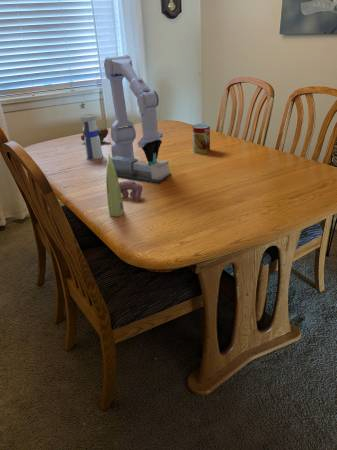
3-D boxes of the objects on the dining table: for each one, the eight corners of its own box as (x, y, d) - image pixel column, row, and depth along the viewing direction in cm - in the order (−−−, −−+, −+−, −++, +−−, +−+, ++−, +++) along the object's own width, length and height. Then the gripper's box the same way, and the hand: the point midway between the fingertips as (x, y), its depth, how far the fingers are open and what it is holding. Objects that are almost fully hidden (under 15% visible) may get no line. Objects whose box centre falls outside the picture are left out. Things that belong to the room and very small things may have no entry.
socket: (151, 178, 148) (150, 165, 145) (160, 173, 153) (159, 160, 150) (160, 180, 146) (159, 166, 143) (169, 174, 151) (168, 161, 148)
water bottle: (81, 159, 177) (72, 104, 165) (91, 153, 184) (83, 100, 172) (96, 160, 174) (88, 104, 163) (106, 154, 181) (99, 101, 169)
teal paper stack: (127, 168, 154) (125, 150, 151) (131, 166, 156) (129, 148, 153) (160, 173, 147) (158, 155, 143) (163, 171, 149) (162, 153, 145)
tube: (104, 214, 125) (96, 157, 115) (116, 208, 128) (108, 152, 119) (116, 218, 121) (108, 160, 112) (127, 212, 125) (121, 155, 115)
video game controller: (142, 202, 135) (144, 182, 135) (138, 201, 131) (139, 181, 130) (117, 199, 138) (119, 180, 138) (112, 199, 134) (113, 179, 133)
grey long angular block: (107, 175, 157) (105, 160, 154) (121, 167, 164) (119, 153, 161) (158, 184, 145) (157, 168, 142) (171, 175, 152) (170, 160, 149)
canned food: (210, 153, 175) (210, 127, 169) (193, 154, 175) (193, 128, 169) (209, 148, 182) (209, 123, 176) (192, 149, 182) (192, 124, 176)
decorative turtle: (109, 144, 196) (106, 129, 192) (80, 148, 197) (77, 133, 193) (111, 138, 204) (108, 124, 200) (84, 141, 206) (81, 127, 201)
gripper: (148, 130, 134) (150, 167, 140) (168, 121, 145) (170, 155, 151) (131, 129, 137) (135, 164, 144) (153, 120, 148) (155, 153, 154)
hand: (152, 160), depth 148 cm, fingers closed on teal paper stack, 3 cm apart
